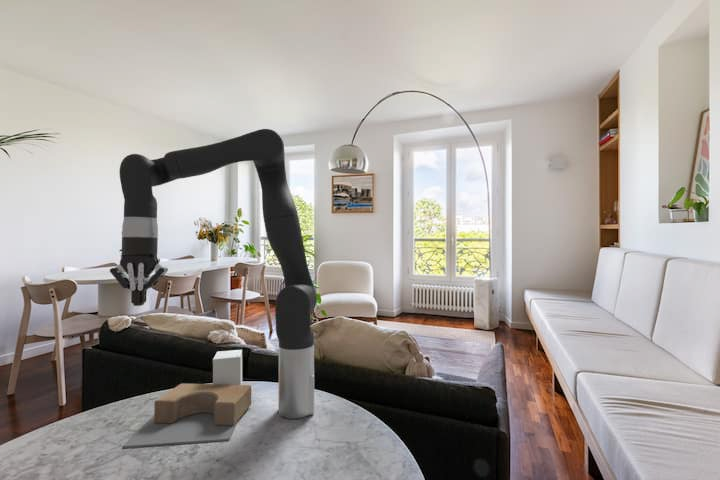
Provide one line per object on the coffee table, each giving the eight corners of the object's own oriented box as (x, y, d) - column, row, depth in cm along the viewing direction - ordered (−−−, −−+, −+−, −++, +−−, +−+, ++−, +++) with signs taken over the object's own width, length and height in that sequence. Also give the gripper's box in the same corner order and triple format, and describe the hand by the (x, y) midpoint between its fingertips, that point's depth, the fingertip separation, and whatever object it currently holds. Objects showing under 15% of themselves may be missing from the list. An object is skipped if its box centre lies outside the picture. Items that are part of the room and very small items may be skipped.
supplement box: (242, 391, 100) (243, 348, 101) (240, 402, 93) (240, 356, 93) (216, 394, 98) (216, 350, 99) (211, 405, 91) (212, 358, 92)
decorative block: (152, 424, 81) (233, 426, 79) (153, 400, 81) (233, 402, 80) (180, 403, 92) (251, 406, 90) (181, 382, 92) (251, 384, 91)
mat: (244, 406, 90) (244, 405, 90) (229, 440, 74) (229, 438, 74) (158, 412, 88) (158, 410, 88) (122, 448, 72) (122, 446, 72)
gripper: (174, 236, 89) (173, 302, 88) (120, 236, 87) (118, 303, 86) (161, 235, 81) (160, 307, 81) (102, 235, 79) (100, 308, 79)
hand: (138, 305), depth 84 cm, fingers closed
